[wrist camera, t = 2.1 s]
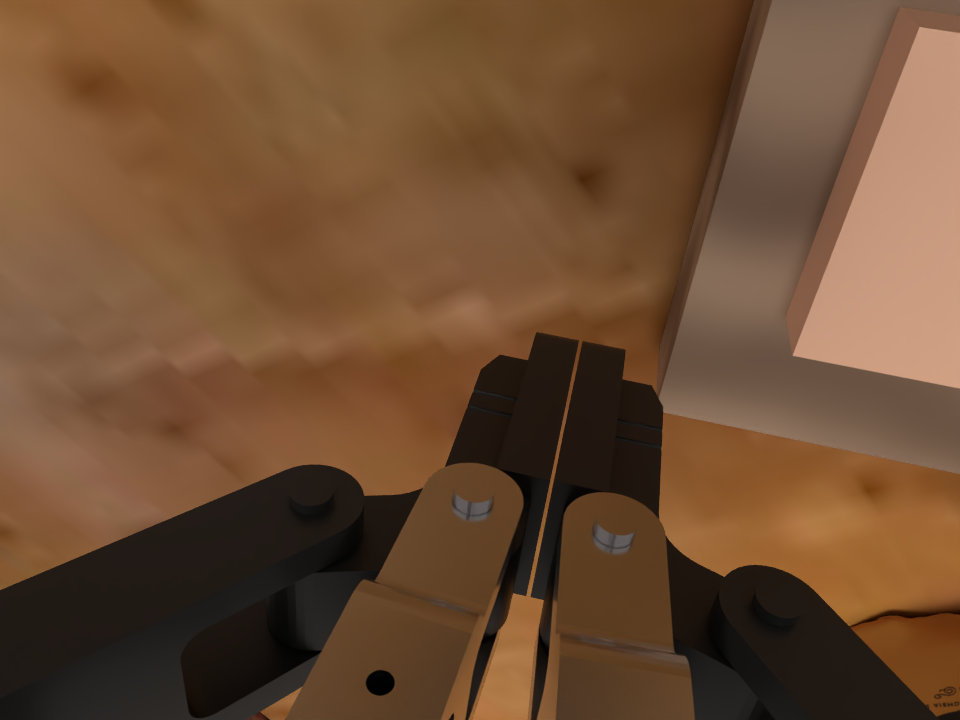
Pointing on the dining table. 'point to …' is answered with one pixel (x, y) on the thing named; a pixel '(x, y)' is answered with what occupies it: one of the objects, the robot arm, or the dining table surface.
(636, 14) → the dining table surface
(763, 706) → the robot arm
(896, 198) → the pink rectangular block
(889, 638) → the coffee package
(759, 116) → the deck
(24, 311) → the dining table surface
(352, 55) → the dining table surface
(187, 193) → the dining table surface
